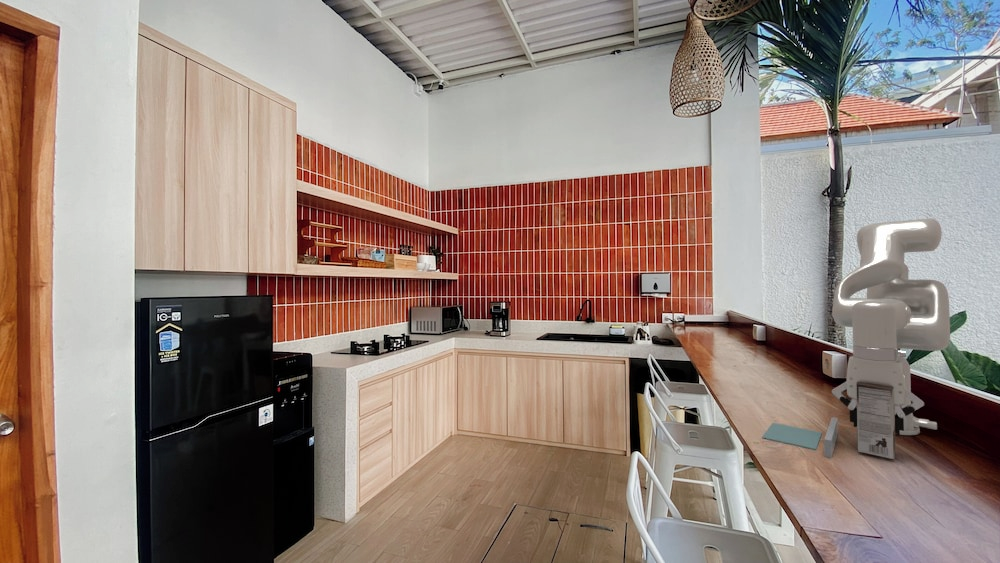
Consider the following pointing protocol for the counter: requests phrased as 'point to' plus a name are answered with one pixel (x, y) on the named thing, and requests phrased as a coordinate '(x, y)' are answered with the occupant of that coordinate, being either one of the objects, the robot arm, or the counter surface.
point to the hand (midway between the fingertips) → (875, 428)
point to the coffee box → (876, 419)
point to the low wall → (831, 437)
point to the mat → (793, 436)
